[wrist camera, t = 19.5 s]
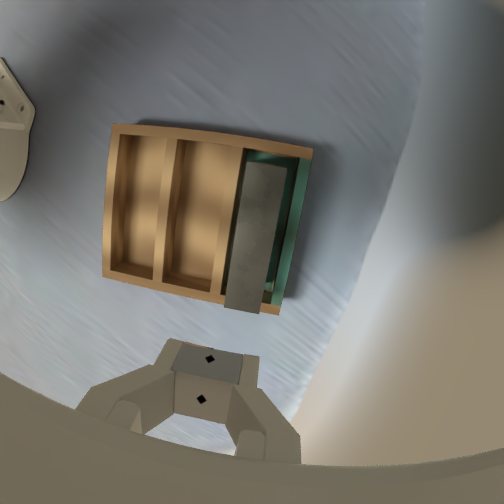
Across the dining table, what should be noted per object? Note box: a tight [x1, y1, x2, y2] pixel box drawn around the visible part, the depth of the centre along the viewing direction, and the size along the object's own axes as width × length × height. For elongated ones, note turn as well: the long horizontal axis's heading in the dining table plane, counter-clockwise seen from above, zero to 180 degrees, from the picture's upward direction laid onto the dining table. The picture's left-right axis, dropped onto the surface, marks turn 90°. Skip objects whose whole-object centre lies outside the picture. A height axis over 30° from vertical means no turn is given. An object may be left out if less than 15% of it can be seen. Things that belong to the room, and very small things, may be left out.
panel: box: [224, 161, 287, 314], centre depth 28 cm, size 12×3×7 cm, turn 170°
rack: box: [102, 123, 314, 315], centre depth 31 cm, size 16×19×4 cm
